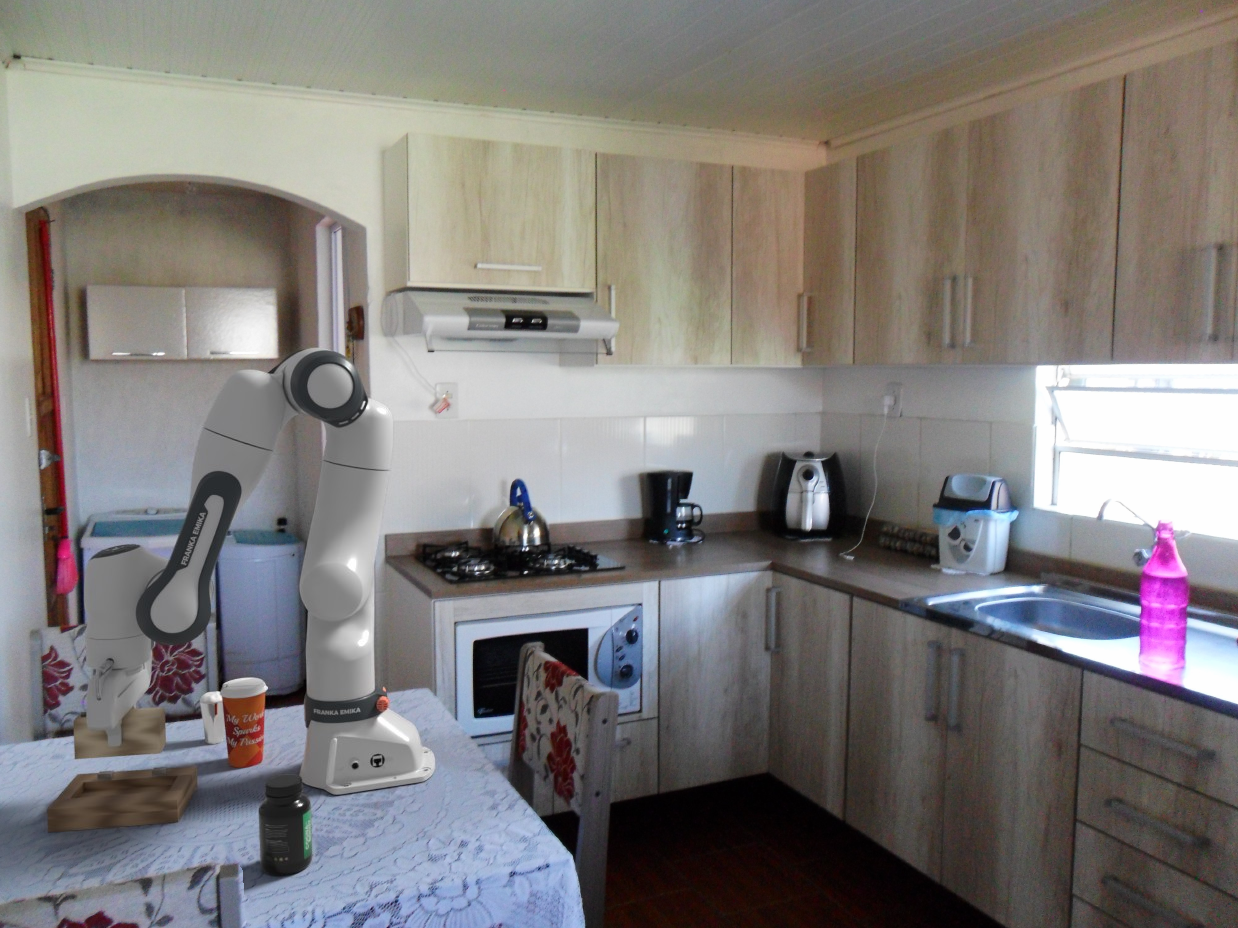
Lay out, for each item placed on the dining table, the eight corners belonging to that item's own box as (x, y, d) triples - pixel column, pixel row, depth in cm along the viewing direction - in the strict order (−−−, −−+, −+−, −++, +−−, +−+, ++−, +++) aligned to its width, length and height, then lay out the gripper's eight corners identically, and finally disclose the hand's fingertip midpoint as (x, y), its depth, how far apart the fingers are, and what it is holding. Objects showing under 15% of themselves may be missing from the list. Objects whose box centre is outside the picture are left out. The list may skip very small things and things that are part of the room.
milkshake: (226, 745, 179) (224, 692, 178) (197, 745, 179) (195, 691, 178) (236, 736, 183) (234, 684, 183) (207, 736, 184) (205, 684, 183)
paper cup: (224, 773, 167) (221, 692, 165) (220, 757, 173) (217, 680, 172) (273, 764, 170) (270, 686, 169) (266, 749, 177) (264, 673, 176)
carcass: (197, 786, 161) (196, 759, 161) (178, 821, 149) (176, 793, 148) (78, 795, 158) (77, 767, 158) (48, 832, 145) (46, 802, 145)
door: (165, 743, 156) (164, 704, 155) (160, 753, 152) (159, 713, 151) (82, 749, 153) (81, 709, 152) (74, 759, 149) (73, 718, 148)
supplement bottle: (322, 863, 136) (319, 779, 135) (276, 882, 131) (273, 795, 130) (296, 847, 141) (293, 766, 140) (251, 865, 136) (248, 781, 135)
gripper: (120, 669, 141) (123, 762, 143) (158, 632, 161) (160, 714, 163) (72, 671, 140) (75, 765, 141) (116, 634, 160) (119, 716, 161)
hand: (121, 737), depth 152 cm, fingers closed on door, 4 cm apart
